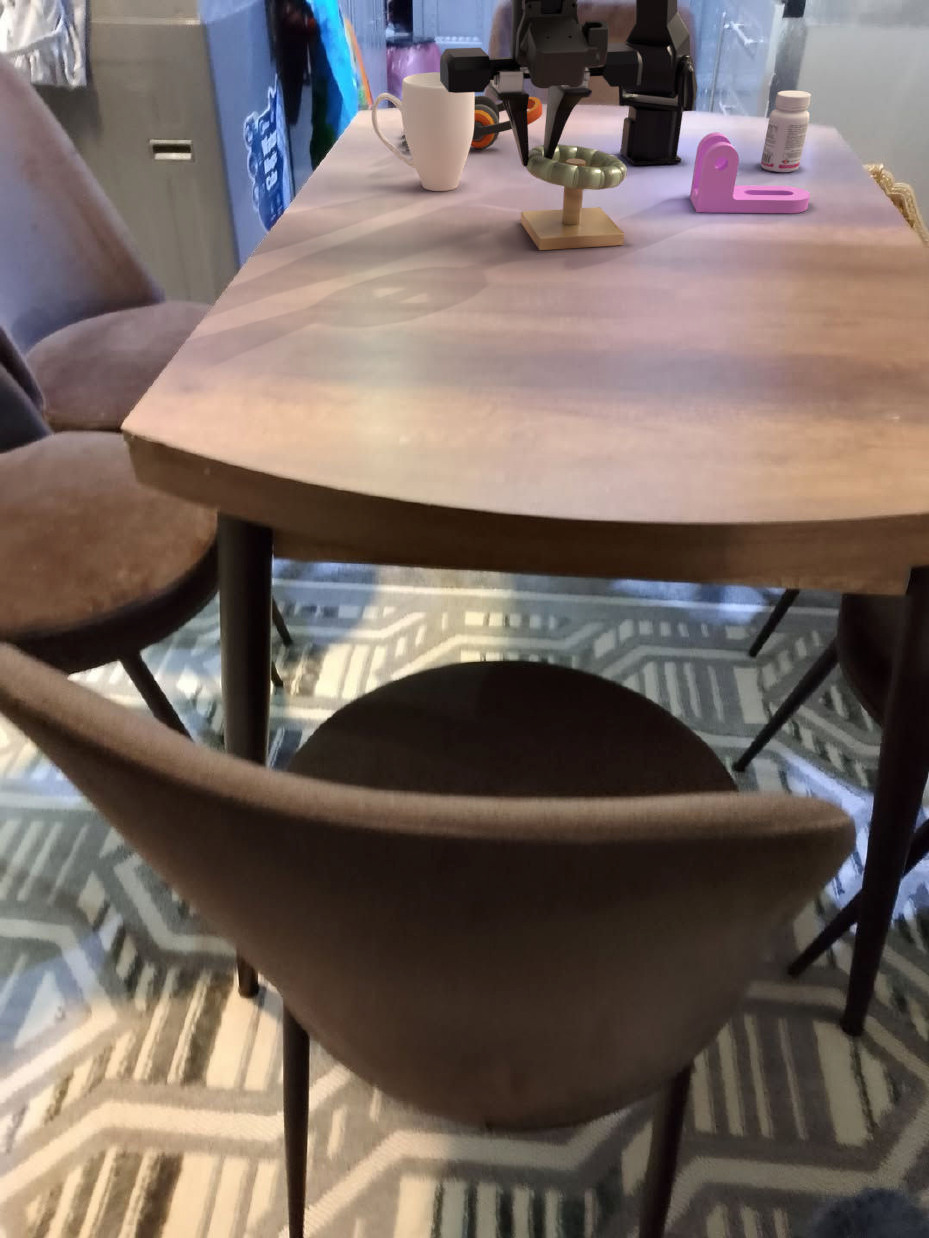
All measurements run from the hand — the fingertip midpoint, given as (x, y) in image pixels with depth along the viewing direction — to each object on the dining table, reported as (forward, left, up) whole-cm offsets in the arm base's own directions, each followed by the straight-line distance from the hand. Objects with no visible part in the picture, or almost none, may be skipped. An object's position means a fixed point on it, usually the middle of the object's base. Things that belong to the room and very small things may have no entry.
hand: (535, 165), depth 93 cm
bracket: (-27, -6, -7) cm, 29 cm away
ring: (-4, 0, 0) cm, 4 cm away
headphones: (0, -39, -7) cm, 40 cm away
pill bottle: (-37, -20, -7) cm, 43 cm away
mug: (+9, -20, -7) cm, 23 cm away
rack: (-4, 0, -7) cm, 8 cm away
